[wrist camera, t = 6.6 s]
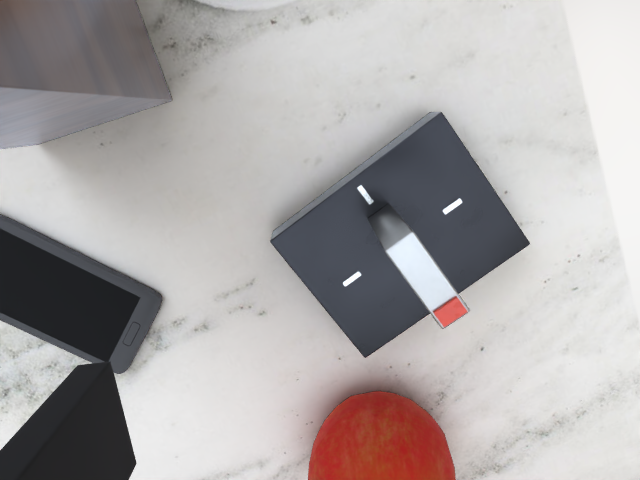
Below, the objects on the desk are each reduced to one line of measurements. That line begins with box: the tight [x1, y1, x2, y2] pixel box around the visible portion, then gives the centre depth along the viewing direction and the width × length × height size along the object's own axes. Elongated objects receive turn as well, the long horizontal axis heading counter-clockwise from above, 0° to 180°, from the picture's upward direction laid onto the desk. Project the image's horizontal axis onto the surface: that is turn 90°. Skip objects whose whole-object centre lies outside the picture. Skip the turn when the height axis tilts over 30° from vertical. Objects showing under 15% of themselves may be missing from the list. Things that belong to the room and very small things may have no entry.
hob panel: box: [270, 112, 530, 358], centre depth 35 cm, size 14×11×3 cm
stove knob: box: [368, 204, 470, 329], centre depth 30 cm, size 6×2×8 cm, turn 37°
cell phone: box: [0, 214, 162, 374], centre depth 37 cm, size 7×14×1 cm, turn 61°
